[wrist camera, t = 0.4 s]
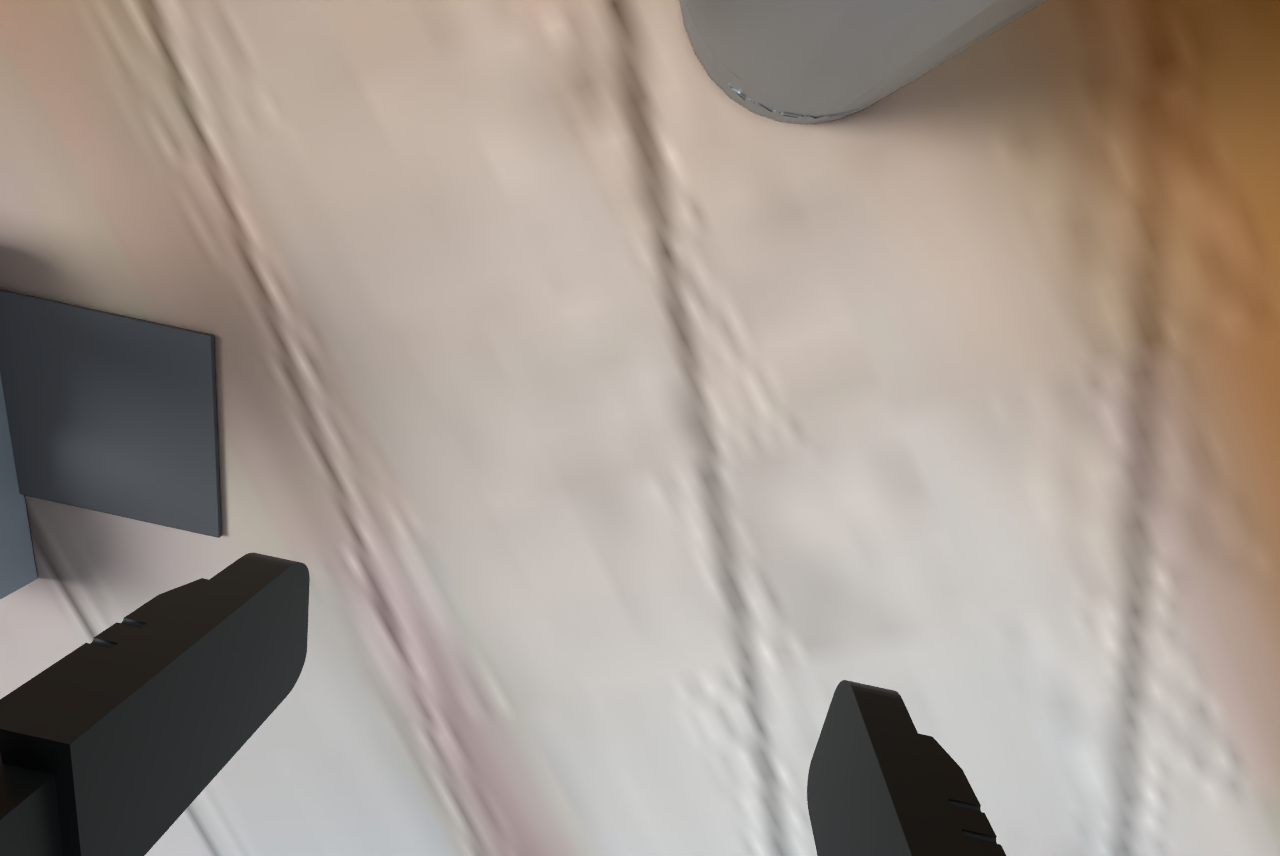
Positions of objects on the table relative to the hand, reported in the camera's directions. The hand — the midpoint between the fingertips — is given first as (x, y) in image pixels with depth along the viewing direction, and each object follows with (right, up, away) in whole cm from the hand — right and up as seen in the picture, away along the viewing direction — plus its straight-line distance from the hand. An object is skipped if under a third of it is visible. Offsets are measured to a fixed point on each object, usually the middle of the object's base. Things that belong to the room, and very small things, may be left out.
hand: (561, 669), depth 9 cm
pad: (-23, +4, +20) cm, 30 cm away
